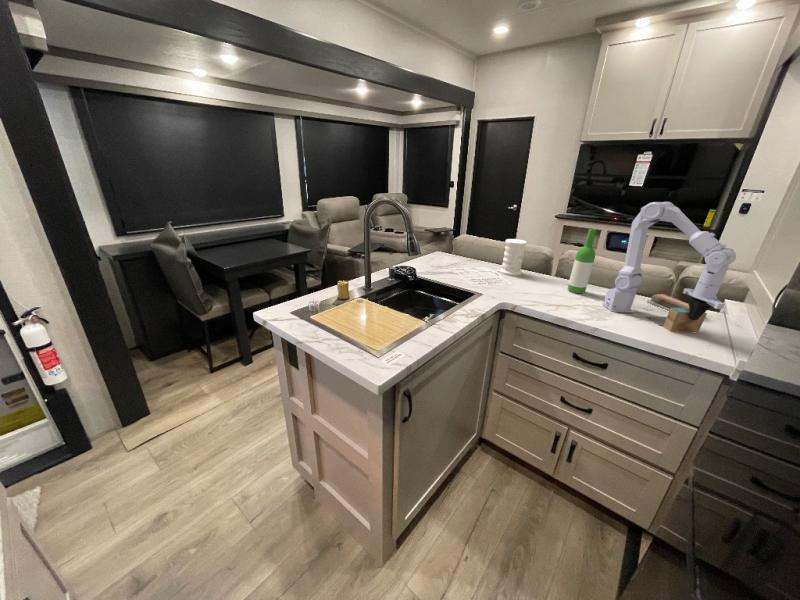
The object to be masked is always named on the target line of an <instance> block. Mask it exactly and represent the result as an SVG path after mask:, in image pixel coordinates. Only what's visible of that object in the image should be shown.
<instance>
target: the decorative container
mask: <svg viewBox="0 0 800 600" xmlns="http://www.w3.org/2000/svg"><path fill="white" fill-rule="evenodd" d="M505 244H506V245H505V246H504V249H505V250H504V253H503V255H504V256H503V259H502V260H503V261H502V264H501V265H502V267H501V268H499V269H500V270H499V273H501V274H502V275H505V276H509V277H520V276H521V275H522V270H521V268H522V263H523V258H524V255H525V254H524V251H525V246H526V245H527V241H526V240H524V239H518V238H507V239H505Z"/></svg>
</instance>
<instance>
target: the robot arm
mask: <svg viewBox="0 0 800 600" xmlns="http://www.w3.org/2000/svg"><path fill="white" fill-rule="evenodd" d="M660 221H661V222H666V223H672V224H673V225H674V226H675V227H677V228H678V230H680V231H681V232H682V233H684V234H685V235H686V236H687V237H688V238H689V241H688V243H689V245H691V246H692V247H693V248H694V249H695V250H696V251H697V252H698V253H699V254H700V255H701V256H702V257H704V262H705V265H704V268H703V269H702V272H701V274H700V276H699V279H698V281H697V283H696V286H695V287H694V289H693V288H690V287H685V288H683V291H682V293H683V294H684V295H688V296H690V297H691V298H688V299H687V303H688V304H689V319H691V320H698V319H699V318H700V316H701V315H702V314H703V313H704V312H705V313H706V312H707V311H708V310H710V309H711V308H714V309H716V310H723V309H724V307H725V305H726V304H725V303H724V302H722V301H721V300H720V299H718V296H717V294H718V292H719V290H720V288H721V286H722V283H723V281H724V280H725V277H726V275H727V271H728V270H729V267H730V265H732V264H733V263H734V262H735V261H736V259H737V254H736V252H735V250H734V249H732V248H731V247H727V245H726V244H725V243H723V244H722V243H721V242H720V241H719V240H718V239H716V237H715V236H716V234H715V233H714V232H709V231H707V230H706V231H705V230H704V231H701V230H700V229H699V228H698V227H697V226H696V225H695V224H694V222H692V220H690V219H689V218H688V217H687V216H686V214H685V213H683V212H682V211H681V209H680V207H677V206H676V205H675V204H673V203H672V202H670V201H663V202H662V201H653V202H649V203H647V204H646V205H644V206H642V207H641V208H640V212H639V213H638V214H637V215H636V217H635V218H633V221H632V222H631V226H630V232H629V238H628V244H627V249H626V255H625V261H624V265H623V267H622V268H621V270H619V272H618V276H617V277H616V278H615V279H614V285H615V287H614V288H613V287H612V288H609V289H608V290H607V292H606V295H605V298H604V302H602V305H603V306H604V307H605V308H606V309H608V310H610V311H611V312H613V313H614V312H615V313H616V312H617V313H629V314H631V313H633V314H635V313H636V311H635V310H633V309H632V307H633V303H634V301H635V297H636V295H637V291H638V288H639V287H641V286H642V285H643V283H644V277H643V268H642V267H641V266H642V261H643V256H644V251H645V247H646V246H645V245H646V240H647V235H648V230H649V228H650V227H651V226H653V225H654V224H656V223H658V222H660Z"/></svg>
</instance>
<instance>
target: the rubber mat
mask: <svg viewBox="0 0 800 600" xmlns="http://www.w3.org/2000/svg"><path fill="white" fill-rule="evenodd" d="M666 318H667V316H653V315H650V316H649V315H646V319H649V320H650V321H651V322H653V323H654V324H656V325H657V326H659V327H663V325H664V323H665V320H666Z"/></svg>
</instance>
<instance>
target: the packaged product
mask: <svg viewBox="0 0 800 600" xmlns="http://www.w3.org/2000/svg"><path fill="white" fill-rule="evenodd" d="M648 303H650V304H649V305H651V304H652V305H651V306H653V305H654V306H653V307H655V306H657V307H656V308H658V307H660V308H662V309H665V310H667V311H670V308H685V309H689V303H688V302H685V301H682V300H680V299H678V298H674V297H672V296H669V295H667V294H664V293H660V294H659V293H657V294H653V295H652V296H651V299H650V300H647V301H646V304H648ZM660 308H659V309H660ZM662 309H661V310H662ZM665 310H664V311H665ZM667 311H666V312H667Z"/></svg>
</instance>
